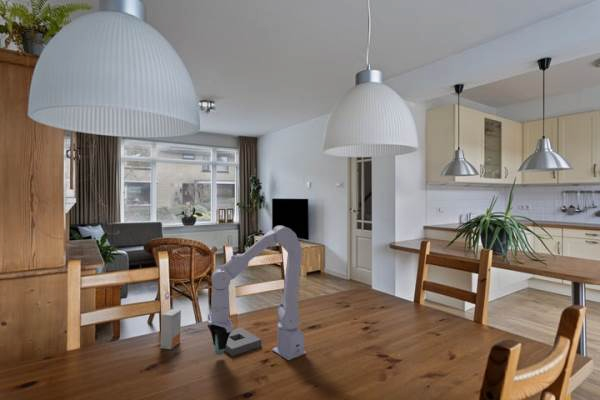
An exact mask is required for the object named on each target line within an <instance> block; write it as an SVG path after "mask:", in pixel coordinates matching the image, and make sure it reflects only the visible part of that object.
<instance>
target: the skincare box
mask: <svg viewBox="0 0 600 400" xmlns="http://www.w3.org/2000/svg"><path fill="white" fill-rule="evenodd" d="M181 320H182V310H181V309H170V310H169V309H168V310H167V311H165V312H164V313H163V314H161V322H160V349H165V350H166V349H167V350H172V349H173V348H174V347H175V346H177V345H179V344H180V343H181V326H182V325H181V324H182V323H181V322H182V321H181Z"/></svg>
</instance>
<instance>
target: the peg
mask: <svg viewBox="0 0 600 400" xmlns="http://www.w3.org/2000/svg"><path fill="white" fill-rule="evenodd" d="M214 354H215V355H217V356H222V355H223V354H225V351H224V349H222V350H219V347H218V339H217V335H215V346H214Z"/></svg>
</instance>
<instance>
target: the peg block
mask: <svg viewBox="0 0 600 400" xmlns="http://www.w3.org/2000/svg"><path fill="white" fill-rule="evenodd" d="M260 347H262V338H260V337H258V336H256V335H255V334H253V333H252V332H250V331H248V330H247V329H246V328H243V327H237V328H235V329H234V328H233V331H232V332H231V333H230V335H229V337H228V341H227V344H226V348H225V349H224V353H227V354H228V355H229V356H230V357H234V356H236V355H240V354H242V353H247V352H248V351H251V350H254V349H255V350H256V349H257V348H260Z"/></svg>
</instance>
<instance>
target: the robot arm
mask: <svg viewBox="0 0 600 400" xmlns="http://www.w3.org/2000/svg"><path fill="white" fill-rule="evenodd" d="M277 244H279V246H282V248H283V249H284V250H285V252H286V253H287V257H286V265H285V267H286V268H285V275H284V283H283V284H284V285H283V293H282V297H281V299H280V303H279V306H278V308H277V310H276V314H277V317H278V319H279V321H278V323H277V336H276V337H277V342H276V343H277V345H276V346H275V347H273V348H272V349H271V350H272V351H273V352H275V353H276V354H277V355H279V356H280V357H283V358H284V359H286V360H287V361H290V360H292V359H295V358H298V357H300V356H303V355H305V354H306V353H307V351H305V335H304V333H303V331H302V330H300V327H299V324H300V321H301V320H300V319H301V318H300V315H299V305H298V304H299V303H298V294H299V287H300V286H299V284H300V276H301V267H302V259H303V247H302V245H301V243H300V241H299V238H298V236H297V234H296V232H295V231H293V230H292V229H291V228H290V227H287V226H284V225H276V226H274V227H273V228H272V229H271V230H269V231H268V232H266V233H265V234H264V235H262V236H261V237H260V238H259V239H258V240H257V241H256V242H254V244H252V245H251V246H250V247H249V248H248V249H247V250H246V251H245V252H244V253H236V254H232V255H231V256H230V259H229V260H228V261H227V262H225V263H224V264H223V265H219V268H217V269H216V270H214V271H213V273H212V274H211V276H210V280H211V284H212V285H211V291H212V292H211V293H210V294H211V300H210V301H211V303H210V304H211V306H210V310H211V311H210V313H207V320H208V321H207V327H208V329H209V331H210V334H211V338H212V343H213V346H214V347H215V335H217V339H218V347H219V350H222V349H225V348H226V344H227V341H228V337H229V335H230V333H231V332H232V331H233V330H234V324H233V323H232V322H231V318H230V291H229V286H230V284H231V281H232V280H234V279H235V278H236V277H238V276H239V275H241V273H243V272H244V271H245V270H246V269H247V268H249V262H251V260H253V259H254V258H255V257H257V256H258V255H260V253H262V252H263V251H264V250H265V249H267V248H273V247H277V246H278V245H277Z"/></svg>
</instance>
